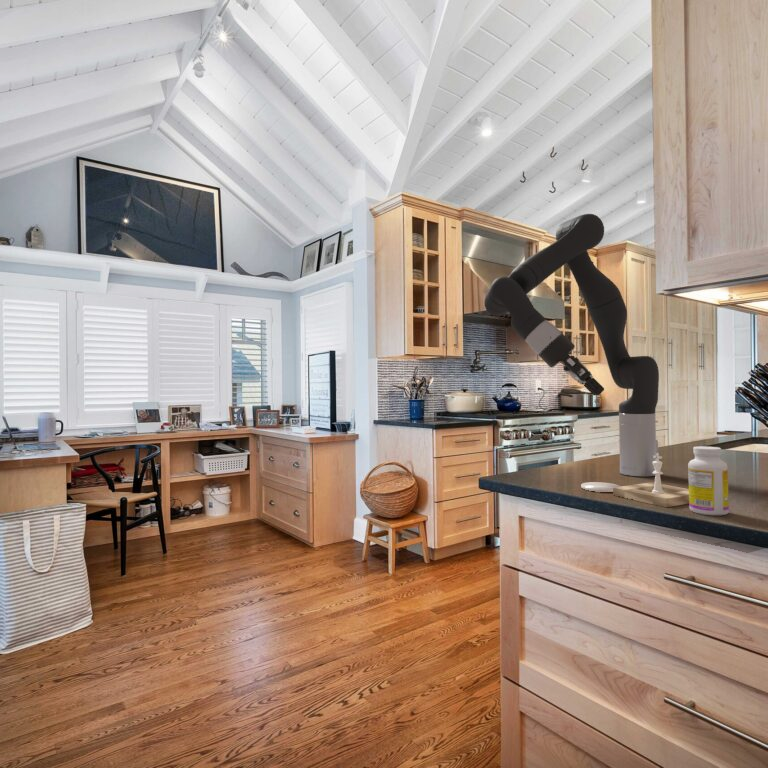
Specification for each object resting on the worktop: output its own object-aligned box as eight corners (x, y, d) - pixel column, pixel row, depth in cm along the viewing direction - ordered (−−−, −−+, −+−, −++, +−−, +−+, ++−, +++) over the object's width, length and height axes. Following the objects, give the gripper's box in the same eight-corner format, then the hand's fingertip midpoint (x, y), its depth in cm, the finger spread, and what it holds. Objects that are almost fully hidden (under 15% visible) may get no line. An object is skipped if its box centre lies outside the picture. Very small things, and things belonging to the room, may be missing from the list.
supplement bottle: (717, 508, 103) (716, 445, 103) (736, 516, 97) (735, 449, 97) (682, 508, 104) (681, 445, 104) (699, 516, 97) (698, 449, 97)
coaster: (599, 484, 130) (598, 480, 130) (629, 490, 122) (629, 487, 122) (573, 487, 126) (573, 484, 126) (603, 494, 118) (602, 490, 118)
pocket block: (651, 489, 122) (651, 482, 122) (705, 500, 110) (705, 492, 110) (613, 495, 116) (613, 487, 116) (666, 507, 105) (666, 498, 105)
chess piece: (650, 494, 117) (650, 451, 117) (674, 498, 113) (673, 453, 113) (642, 497, 114) (641, 453, 114) (665, 501, 110) (664, 455, 110)
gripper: (561, 328, 114) (616, 380, 110) (561, 336, 127) (609, 382, 123) (536, 351, 115) (589, 404, 112) (538, 356, 129) (585, 403, 125)
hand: (599, 392), depth 117 cm, fingers open, 8 cm apart
